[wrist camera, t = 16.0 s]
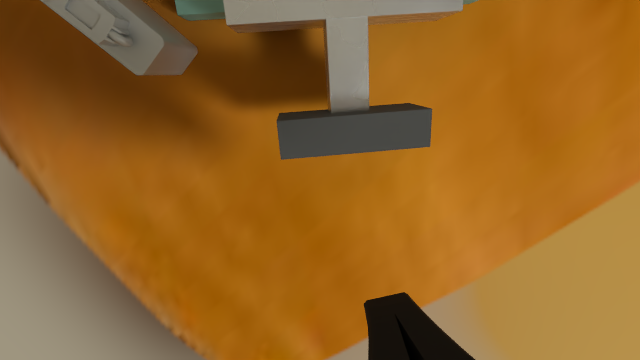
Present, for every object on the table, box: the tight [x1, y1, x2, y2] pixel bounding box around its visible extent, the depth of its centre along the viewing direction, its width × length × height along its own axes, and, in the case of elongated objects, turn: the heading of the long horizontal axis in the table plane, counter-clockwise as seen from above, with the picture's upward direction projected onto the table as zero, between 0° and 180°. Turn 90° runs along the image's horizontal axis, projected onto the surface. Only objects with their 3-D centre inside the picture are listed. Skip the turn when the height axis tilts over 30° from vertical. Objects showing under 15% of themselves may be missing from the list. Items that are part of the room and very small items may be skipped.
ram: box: [223, 0, 463, 160], centre depth 13 cm, size 9×7×4 cm
